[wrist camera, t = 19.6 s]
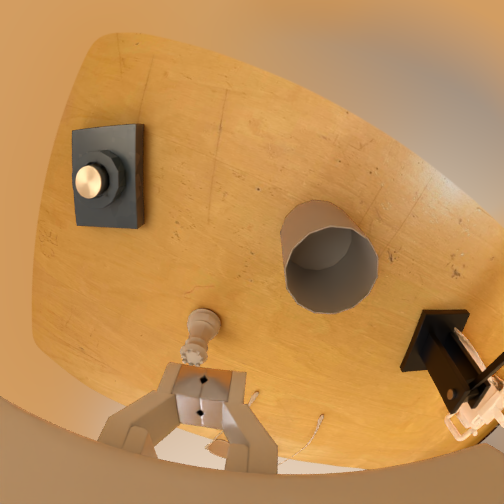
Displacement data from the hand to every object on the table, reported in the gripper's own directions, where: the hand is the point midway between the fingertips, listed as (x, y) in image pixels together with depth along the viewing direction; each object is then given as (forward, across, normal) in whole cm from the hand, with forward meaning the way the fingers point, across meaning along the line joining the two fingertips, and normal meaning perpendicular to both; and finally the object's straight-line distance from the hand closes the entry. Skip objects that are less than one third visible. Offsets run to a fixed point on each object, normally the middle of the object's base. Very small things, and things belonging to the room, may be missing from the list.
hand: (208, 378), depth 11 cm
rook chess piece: (+25, +5, +15) cm, 29 cm away
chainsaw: (+24, -43, +28) cm, 56 cm away
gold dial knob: (+21, +17, -4) cm, 28 cm away
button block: (+25, +17, -4) cm, 30 cm away
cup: (+25, -8, +2) cm, 26 cm away
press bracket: (+25, -30, +17) cm, 42 cm away
